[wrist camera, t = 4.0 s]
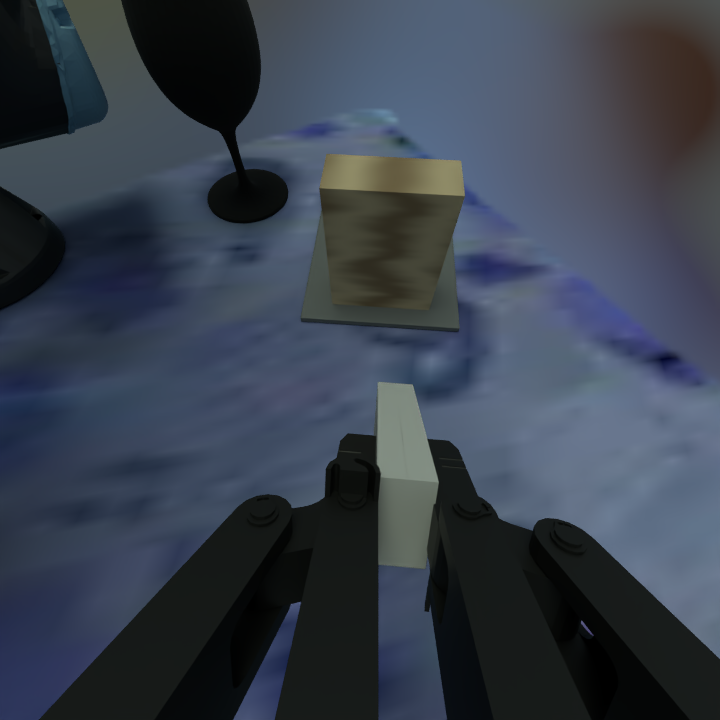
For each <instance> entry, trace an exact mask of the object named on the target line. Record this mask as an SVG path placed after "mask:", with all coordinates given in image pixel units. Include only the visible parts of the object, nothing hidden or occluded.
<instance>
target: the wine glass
mask: <svg viewBox="0 0 720 720" xmlns="http://www.w3.org/2000/svg"><path fill="white" fill-rule="evenodd" d="M121 1H122V5H123V8H124V12H125V16H126V19H127V23H128V26H129V28H130V32H131V35H132V37H133V40H134V42H135V45H136V47H137V50H138V52H139V54H140V56H141V59H142V61H143V63H144V65H145V66H146V68H147V70H148V72H149V74H150V75H151V77H152V78H153V80H154V81H155V83H156V84H157V86H158V87H159V88H160V90H161V91H162V92H163V93H164V95H165V96H166V97H167V98H168V99H169V100H170V101H171V102H172V103H173V104H174V105H175V106H176V107H177V108H178V109H180V110H181V111H182V112H183V113H185V114H186V115H187V116H189V117H190V118H192V119H194V120H196V121H197V122H199V123H201V124H203V125H205V126H207V127H209V128H212V129H215V130H217V131H219V132H220V133H221V134H222V136H223V138H224V140H225V142H226V144H227V146H228V149H229V151H230V154H231V156H232V159H233V162H234V165H235V168H236V172H234V173H231V174H228V175H226V176H224V177H223V178H221V179H220V180H218V181H217V182H216V183H215V184H214V185H213V186H212V188H211V189H210V191H209V194H208V204H209V207H210V209H211V210H212V212H213V213H214V214H215V215H217V216H218V217H219V218H222V219H224V220H227V221H230V222H235V223H250V222H256V221H260V220H263V219H266V218H268V217H270V216H272V215H274V214H275V213H276V212H278V211H279V210H280V209H281V208H282V207H283V206H284V204H285V203H286V201H287V198H288V189H287V185H286V183H285V182H284V181H283V179H282V178H280V177H279V176H278V175H276V174H274V173H272V172H269V171H265V170H259V169H248V170H245V169H244V167H243V163H242V160H241V157H240V153H239V149H238V145H237V141H236V135H235V130H236V127H237V126H238V125H239V124H240V123H241V122H242V121H243V119H244V118H245V117H246V116H247V114H248V113H249V111H250V109H251V107H252V105H253V103H254V101H255V99H256V96H257V93H258V89H259V84H260V75H261V59H260V50H259V44H258V39H257V34H256V29H255V25H254V21H253V17H252V14H251V11H250V8H249V4H248V2H247V0H121Z"/></svg>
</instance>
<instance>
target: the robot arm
mask: <svg viewBox="0 0 720 720" xmlns="http://www.w3.org/2000/svg"><path fill="white" fill-rule="evenodd" d="M107 112H108V102H107V99H106V96H105V93H104V91H103V89H102V86H101V84H100V82H99V80H98V77H97V75H96V72H95V70H94V68H93V66H92V63H91V61H90V59H89V57H88V55H87V52H86V50H85V48H84V46H83V44H82V41H81V39H80V37H79V35H78V33H77V31H76V28H75V26H74V24H73V23H72V21H71V18H70V15H69V13H68V11H67V9H66V7H65V5H64V3H63V0H0V149H2V148H7V147H11V146H15V145H19V144H23V143H28V142H32V141H36V140H41V139H45V138H49V137H53V136H58V135H62V134H66V133H67V134H72V133H74V132H75V130H76V129H79V128H82V127H85V126H89V125H92V124H95V123H98V122H101V121H102V120H103V119H104V118H105V116H106V114H107ZM64 249H65V240H64V236H63V234H62V232H61V231H60V230H59V228H58V227H57V226H56V225H55V224H54V223H53V222H52V221H51V220H50V219H49V218H48V217H47V216H46V215H45V214H44V213H42V212H41V211H40V210H39V209H37V208H35V207H34V206H32V205H30V204H29V203H27V202H25V201H24V200H22V199H21V198H19V197H17V196H15V195H14V194H12V193H11V192H9V191H7V190H6V189H4V188H2V187H1V186H0V308H2V307H4V306H6V305H9V304H11V303H13V302H15V301H17V300H19V299H20V298H22V297H24V296H25V295H27V294H28V293H30V292H31V291H33V290H34V289H36V288H37V287H38V286H39V285H40V284H42V283H43V282H44V281H45V280H46V279H47V278H48V277H49V276H50V275H51V274H52V272H53V271H54V270H55V269H56V267H57V266H58V264H59V262H60V260H61V258H62V256H63V253H64ZM427 556H428V559H429V565H430V575H429V581H428V587H427V594H426V600H425V611H426V612H429V608H430V605H431V612H432V619H433V626H434V633H435V639H436V646H437V653H438V660H439V667H440V674H441V681H442V687H443V694H444V701H445V708H446V715H447V720H720V659H719V658H718V657H717V656H716V655H715V654H714V653H713V652H712V651H711V650H710V649H709V648H708V647H707V646H706V645H704V644H703V643H702V642H701V641H700V640H699V639H698V638H697V637H696V636H695V635H694V634H693V633H692V632H691V631H690V630H689V629H688V628H687V627H686V626H685V625H684V624H682V623H681V622H680V621H679V620H678V619H677V618H676V617H675V616H674V615H673V614H672V613H671V612H670V611H669V610H668V609H667V608H666V607H665V606H664V605H663V604H662V603H660V602H659V601H658V600H657V599H656V598H655V597H654V596H653V595H652V594H651V593H650V592H649V591H648V590H647V589H646V588H645V587H644V586H643V585H642V584H641V583H640V582H638V581H637V580H636V579H635V578H634V577H633V576H632V575H631V574H630V573H629V572H628V571H627V570H626V569H625V568H624V567H623V566H622V565H621V564H620V563H619V562H618V561H617V560H615V559H614V558H613V557H612V556H611V555H610V554H609V553H608V552H607V551H606V550H605V549H604V548H603V547H602V546H601V545H600V544H599V543H598V542H597V541H596V540H595V539H593V538H592V537H591V536H590V535H589V534H587V533H586V532H585V531H583V530H582V529H580V528H578V527H577V526H575V525H573V524H571V523H569V522H565V521H562V520H559V519H551V518H545V519H542V520H539V521H538V522H537V523H536V524H535V526H534V529H533V531H531V530H528V529H525V528H522V527H519V526H516V525H513V524H510V523H508V522H505V521H503V520H501V519H499V518H498V515H497V513H496V511H495V510H494V509H493V507H492V506H491V505H490V504H489V503H488V502H487V501H485V500H484V499H483V498H481V497H479V496H478V495H477V493H476V490H475V488H474V485H473V483H472V481H471V478H470V476H469V474H468V471H467V469H466V466H465V464H464V462H463V461H462V457H461V454H460V452H459V450H458V449H457V448H456V447H455V446H454V445H453V444H452V443H451V442H450V441H445V440H433V439H427V436H426V433H425V429H424V425H423V422H422V418H421V414H420V410H419V407H418V403H417V399H416V395H415V392H414V388H413V385H409V384H396V383H383V382H378V388H377V400H376V413H375V425H374V436H372V435H360V434H347V435H346V436H345V437H344V438H343V439H342V440H341V441H340V445H339V450H338V454H337V458H336V459H334V460H333V461H331V462H330V463H329V464H328V466H327V468H326V481H325V497H324V498H323V499H322V500H320V501H319V502H317V503H314V504H312V505H308V506H304V507H299V508H291V505H290V504H289V502H288V501H287V500H286V499H284V498H282V497H280V496H277V495H269V494H267V495H260V496H255V497H253V498H251V499H248V500H246V501H245V502H243V503H242V504H241V505H240V506H238V507H237V508H236V509H235V510H234V512H233V513H232V514H231V515H230V516H229V517H228V518H227V519H226V520H225V521H224V522H223V523H222V524H221V525H220V527H219V528H218V529H217V530H216V531H215V532H214V533H213V534H212V535H211V536H210V537H209V538H208V539H207V540H206V542H205V543H204V544H203V545H202V546H201V547H200V548H199V549H198V550H197V551H196V552H195V553H194V554H193V555H192V556H191V558H190V559H189V560H188V561H187V562H186V563H185V564H184V565H183V566H182V567H181V568H180V569H179V570H178V571H177V573H176V574H175V575H174V576H173V577H172V578H171V579H170V580H169V581H168V582H167V583H166V584H165V585H164V586H163V588H162V589H161V590H160V591H159V592H158V593H157V594H156V595H155V596H154V597H153V598H152V599H151V600H150V601H149V602H148V604H147V605H146V606H145V607H144V608H143V609H142V610H141V611H140V612H139V613H138V614H137V615H136V616H135V617H134V619H133V620H132V621H131V622H130V623H129V624H128V625H127V626H126V627H125V628H124V629H123V630H122V631H121V632H120V634H119V635H118V636H117V637H116V638H115V639H114V640H113V641H112V642H111V643H110V644H109V645H108V646H107V647H106V648H105V650H104V651H103V652H102V653H101V654H100V655H99V656H98V657H97V658H96V659H95V660H94V661H93V662H92V663H91V665H90V666H89V667H88V668H87V669H86V670H85V671H84V672H83V673H82V674H81V675H80V676H79V677H78V678H77V680H76V681H75V682H74V683H73V684H72V685H71V686H70V687H69V688H68V689H67V690H66V691H65V692H64V693H63V694H62V696H61V697H60V698H59V699H58V700H57V701H56V702H55V703H54V704H53V705H52V706H51V707H50V708H49V709H48V711H47V712H46V713H45V714H44V715H43V716H42V717H41V718H40V719H39V720H233V719H234V717H235V715H236V713H237V711H238V709H239V707H240V705H241V703H242V701H243V699H244V697H245V695H246V693H247V691H248V689H249V687H250V685H251V683H252V681H253V679H254V677H255V675H256V673H257V671H258V669H259V667H260V665H261V664H262V662H263V660H264V658H265V656H266V654H267V652H268V650H269V648H270V646H271V644H272V642H273V640H274V638H275V636H276V634H277V632H278V630H279V628H280V626H281V624H282V622H283V620H284V618H285V616H286V614H287V612H288V610H289V608H290V605H291V604H293V603H297V602H301V606H300V610H299V615H298V619H297V624H296V628H295V632H294V637H293V641H292V646H291V650H290V655H289V659H288V664H287V668H286V672H285V677H284V681H283V686H282V690H281V695H280V699H279V704H278V708H277V712H276V717H275V720H378V565H389V566H399V567H409V568H420V569H426V562H427ZM581 621H583V622H584V624H585V625H586V626H587V627H588V629H589V630H590V631H591V633H592V634H593V635H594V636H592V635H591V634H590V633H589V632H588V631H587V630H586V629H585V628H584V627H583V625H582V624H581Z"/></svg>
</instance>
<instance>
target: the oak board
mask: <svg viewBox="0 0 720 720" xmlns="http://www.w3.org/2000/svg"><path fill="white" fill-rule="evenodd" d="M319 189H320V197H321V206H322V215H323V224H324V233H325V242H326V251H327V260H328V269H329V278H330V287H331V296H332V304H340V305H356V306H371V307H387V308H402V309H417V310H429V308H430V305H431V302H432V299H433V296H434V292H435V289H436V286H437V283H438V280H439V277H440V273H441V270H442V267H443V264H444V261H445V258H446V254H447V251H448V248H449V245H450V242H451V238H452V235H453V232H454V229H455V226H456V223H457V219H458V216H459V213H460V210H461V207H462V204H463V200H464V197H465V192H464V183H463V175H462V166H461V161H454V160H435V159H416V158H396V157H376V156H357V155H337V154H326V159H325V164H324V169H323V174H322V178H321V183H320V188H319Z"/></svg>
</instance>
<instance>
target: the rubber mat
mask: <svg viewBox="0 0 720 720" xmlns="http://www.w3.org/2000/svg"><path fill="white" fill-rule="evenodd" d="M301 321H305V322H320V323H335V324H350V325H365V326H380V327H395V328H410V329H425V330H440V331H455V332H458V330H459V316H458V303H457V290H456V277H455V264H454V251H453V238H451V242H450V245H449V248H448V251H447V254H446V258H445V261H444V264H443V267H442V270H441V273H440V277H439V280H438V283H437V286H436V289H435V292H434V296H433V299H432V302H431V305H430V308H429V310H417V309H402V308H387V307H371V306H356V305H340V304H332V296H331V287H330V278H329V269H328V260H327V251H326V242H325V233H324V224H323V215H322V211H321V216H320V221H319V226H318V231H317V236H316V242H315V247H314V252H313V257H312V262H311V267H310V272H309V278H308V283H307V288H306V293H305V298H304V303H303V308H302V314H301Z"/></svg>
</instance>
